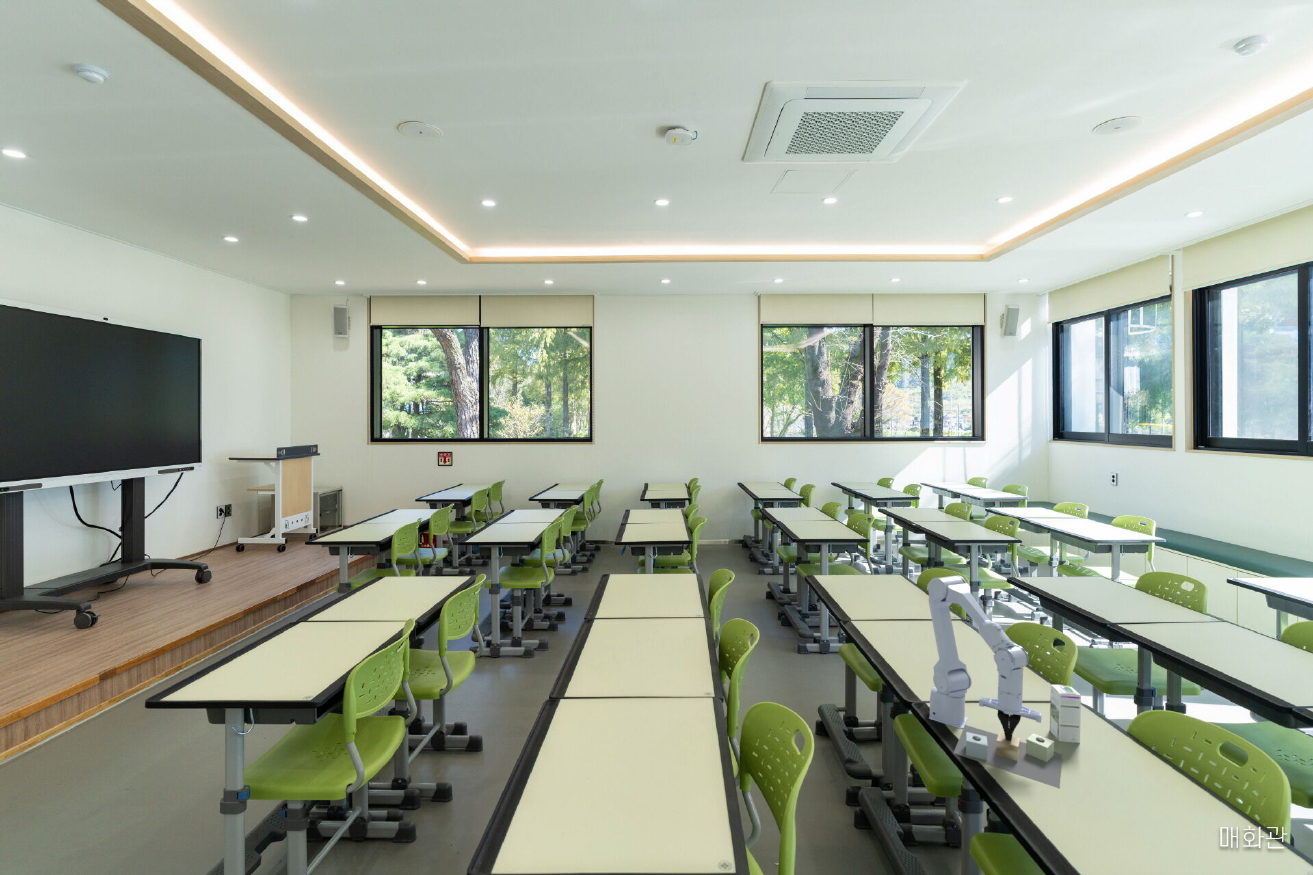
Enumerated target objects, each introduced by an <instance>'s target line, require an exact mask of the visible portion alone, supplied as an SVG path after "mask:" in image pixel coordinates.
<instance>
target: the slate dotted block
mask: <svg viewBox="0 0 1313 875" xmlns="http://www.w3.org/2000/svg"><path fill="white" fill-rule="evenodd" d="M987 752H988V744H987V737H986V736H982V735H978V734H974V733H969V732H966V755H968V756H972V757H976V758H980V759H984V760H987Z"/></svg>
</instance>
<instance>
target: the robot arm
mask: <svg viewBox="0 0 1313 875" xmlns="http://www.w3.org/2000/svg"><path fill="white" fill-rule="evenodd" d="M926 586H927V591H928V592H927V593H928V605H929V612H930V616H931V622H932V628H933V632H934V637H935V639H934V640H935V644H936V649H937V656H938V660H937V662H936V663H935V664H934V666H933V678H932V680H933V684H934V686H932V687H931V690H930V696H929V717H928V719H930V720H933V721H935V722H938V723H941V724H944V725H948V726H952V727H955V728H958V729H961V730H963V729H964V726H965V725H967V724H966V723H967V722H968V718H969V717H967V716H965V714H966V713H965V712H966V709H965V708H966V694H967V693H968V690H969V689H970V688H971V686H972V683H973V682H972V678H971V675H970V674H969V672H968V668H967V664H965V662H963V661H961V660H960V658H959V654H958V649H957V643H956V638H955V632H954V627H953V622H952V616H951V612H950V606H951V605H953V604H956V605H959V606H960V607H961V608H962V609H963V610H964V611H965V613H966V614H967V615H968V616H969V617H970V618H971V620H972V621H973V622H974V623H975V624H976V625H977V626H978V634H979V635H980V637H981V638H982V639H983V641H984V642H985V643H986V644H987V646H988V648H990V650H991V651H992V653H994V654H993V660H994V662H995V664H996V667H997V668H996V671H997V673H998V676H997V677H998V681H997V698H990V697H982V696H980V697H979V699H978V706H979V707H986V708H990V709H994V710H997V718H998V721H1000V724H1001V726H1002V729H1003V734H1005V739H1006V740H1010V741H1011V740H1012V736H1013V735H1014V731H1016V727H1017V726H1018V725H1019V724H1020V722H1021V719H1022V718H1026V719H1029V720H1032V721H1033V720H1034V721H1036V722H1037V723H1042V712H1039V711H1036V710H1034V709H1030V708H1028V707H1027V706H1024V705H1023V689H1024V688H1023V686H1024V685H1023V684H1024V667H1026V666H1027V665H1028V664H1029V655H1028V653H1027V652H1026V649H1024V647H1022V645H1019V644H1016V643H1015V641H1012V640H1011V638H1009V636H1008V634H1006V632H1005V631H1004V630H1003V627H1002V626H1001V625H1000V624H998V622H996V621H992V620H990V619H989V617H988V616H987V615H986V613H985V612H984V610H983V608H982V607H981V606H980V604H979V603H978V601H977V600H976V599H975V597H974V596H973V594H972V593H971V586H970V584H968V583H967V581H966V580H965V578H964V577H963V576H961V575H959V574H955V575H950V576H943V577H933V578H931V580H930V581H929V582H928V583H927V584H926Z"/></svg>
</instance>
